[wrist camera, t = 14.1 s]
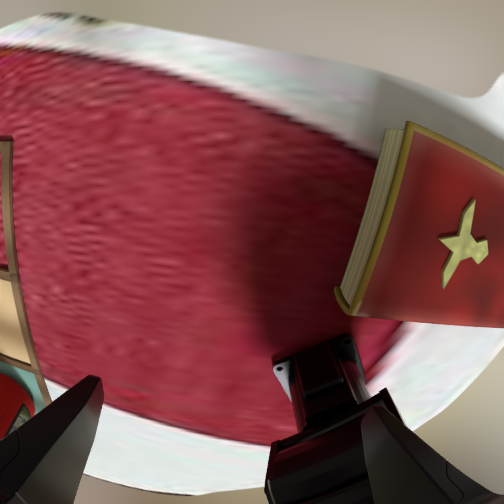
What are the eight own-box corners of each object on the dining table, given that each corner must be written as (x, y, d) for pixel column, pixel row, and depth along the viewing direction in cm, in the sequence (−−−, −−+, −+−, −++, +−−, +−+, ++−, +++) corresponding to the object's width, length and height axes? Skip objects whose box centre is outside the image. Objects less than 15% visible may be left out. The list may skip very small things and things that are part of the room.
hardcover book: (503, 313, 25) (526, 334, 21) (330, 290, 22) (349, 323, 18) (544, 204, 20) (573, 217, 16) (378, 121, 18) (412, 121, 14)
